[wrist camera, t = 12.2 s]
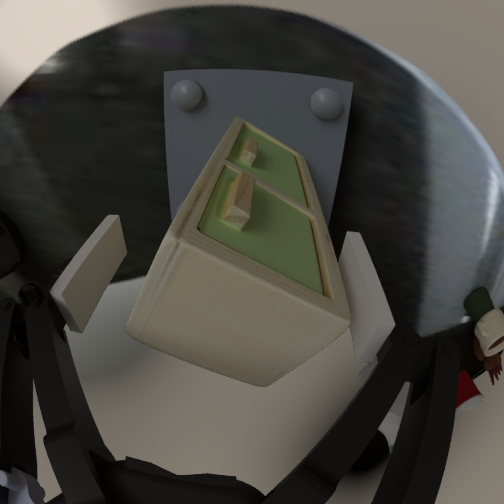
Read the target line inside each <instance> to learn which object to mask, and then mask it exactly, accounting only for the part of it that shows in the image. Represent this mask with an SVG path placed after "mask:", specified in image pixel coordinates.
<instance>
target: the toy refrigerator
mask: <svg viewBox="0 0 504 504" xmlns="http://www.w3.org/2000/svg"><path fill="white" fill-rule="evenodd" d="M350 324H351V316H350V310H349V306H348V302H347V297H346V293H345V289H344V286H343V282H342V278H341V274H340V270H339V266H338V263H337V259H336V256H335V252H334V248H333V245H332V241H331V238H330V235H329V232H328V228H327V225H326V222H325V219H324V216H323V212H322V209H321V205H320V202H319V199H318V196H317V193H316V190H315V186H314V184H313V181H312V177H311V174H310V171H309V169H308V166H307V163H306V160H305V157H304V156H303V155H302V154H300V153H299V152H297V151H296V150H294V149H292V148H291V147H289V146H288V145H286V144H284V143H283V142H281V141H280V140H278V139H276V138H275V137H273V136H272V135H270V134H268V133H266V132H265V131H263V130H261V129H260V128H258V127H256V126H255V125H253V124H251V123H249V122H248V121H246V120H244V119H242V118H240V117H236V118H235V119H234V121H233V123H232V124H231V126H230V127H229V129H228V130H227V132H226V134H225V135H224V137H223V138H222V140H221V141H220V143H219V145H218V146H217V148H216V149H215V151H214V152H213V154H212V156H211V157H210V159H209V160H208V162H207V164H206V165H205V167H204V169H203V170H202V172H201V174H200V175H199V177H198V179H197V180H196V182H195V184H194V185H193V187H192V189H191V191H190V192H189V194H188V196H187V197H186V199H185V201H184V203H183V204H182V206H181V208H180V210H179V211H178V213H177V215H176V217H175V218H174V220H173V222H172V224H171V226H170V228H169V229H168V231H167V233H166V235H165V237H164V239H163V241H162V244H161V246H160V248H159V250H158V252H157V254H156V256H155V259H154V261H153V263H152V265H151V268H150V270H149V272H148V274H147V277H146V279H145V281H144V284H143V286H142V288H141V291H140V293H139V296H138V298H137V301H136V303H135V306H134V308H133V311H132V313H131V316H130V318H129V321H128V323H127V325H126V328H125V332H126V333H127V334H128V335H129V336H131V337H132V338H134V339H136V340H138V341H139V342H141V343H143V344H145V345H148V346H150V347H152V348H154V349H156V350H159V351H161V352H164V353H166V354H168V355H171V356H173V357H176V358H178V359H181V360H183V361H186V362H189V363H191V364H194V365H197V366H199V367H202V368H204V369H207V370H210V371H212V372H215V373H218V374H221V375H224V376H227V377H230V378H233V379H236V380H239V381H242V382H245V383H248V384H251V385H255V386H259V387H266V386H269V385H271V384H272V383H274V382H275V381H277V380H278V379H280V378H281V377H283V376H284V375H286V374H287V373H289V372H290V371H292V370H293V369H295V368H296V367H298V366H299V365H301V364H302V363H304V362H305V361H306V360H308V359H309V358H310V357H312V356H313V355H315V354H316V353H318V352H319V351H320V350H322V349H323V348H325V347H326V346H327V345H329V344H330V343H331V342H333V341H334V340H335V339H337V338H338V337H339V336H340V335H341V334H343V333H344V332H345V331H346V330H347V328H349V326H350Z"/></svg>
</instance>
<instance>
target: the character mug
mask: <svg viewBox="0 0 504 504" xmlns="http://www.w3.org/2000/svg"><path fill="white" fill-rule="evenodd" d="M464 307H465V309H466V311H467V312H468V314H469V315H470V317H471V318H472V319H473V321H474V322H475V323H476V326H475V335H476V336H477V338H478V339H479V341H480V346H481V348H482V350H483V353H484V355H485V356H486V357H489V356H492V355H494V354H496V353H498V352H500V351H501V350H502V349H504V315H503V313H502V312H501V310H500V309H494V305H493V303H492V300H491V298H490V295H489V293H488V291H487V289H486V288H479V289H477V290H476V291H474V292H473V293H472V294H471V295H470V296H469V297H468V298H467V299H466V300H465V302H464Z"/></svg>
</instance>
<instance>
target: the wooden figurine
mask: <svg viewBox="0 0 504 504" xmlns="http://www.w3.org/2000/svg"><path fill="white" fill-rule="evenodd" d="M473 348H474V352H475V354H476V357H477V358H478V359H479V360H481V361H484V367H485V369H486V370H487V371H488V372H489V375H490V378H491V381H492V384H493V385H494V378H493V377H494V376H493V374H494V375H495V377H496V379H497V380H499V379H498V375H497V372H498V374H499V375H500V370H501V371H502V366H501V356H500V355H499V354H498V353H496V354H494V355H492V356H489V357H486V356H485V355H484V353H483V350H482V348H481V346H480V341H479V339H478V338H477V336H476V335H475V336H474V338H473Z"/></svg>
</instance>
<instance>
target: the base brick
mask: <svg viewBox="0 0 504 504" xmlns="http://www.w3.org/2000/svg"><path fill="white" fill-rule="evenodd" d="M352 90H353V83H352V82H347V81H343V80H338V79H332V78H326V77H320V76H313V75H305V74H297V73H288V72H278V71H265V70H247V69H193V70H176V71H166V72H164V114H165V139H166V157H167V172H168V185H169V196H170V207H171V217H172V222H173V220H174V218H175V217H176V215H177V213H178V211H179V210H180V208H181V206H182V204H183V203H184V201H185V199H186V197H187V196H188V194H189V192H190V191H191V189H192V187H193V185H194V184H195V182H196V180H197V179H198V177H199V175H200V174H201V172H202V170H203V169H204V167H205V165H206V164H207V162H208V160H209V159H210V157H211V156H212V154H213V152H214V151H215V149H216V148H217V146H218V145H219V143H220V141H221V140H222V138H223V137H224V135H225V134H226V132H227V130H228V129H229V127H230V126H231V124H232V123H233V121H234V119H235V118H236V117H240V118H242V119H244V120H246V121H248V122H249V123H251V124H253V125H255V126H256V127H258V128H260V129H261V130H263V131H265V132H266V133H268V134H270V135H272V136H273V137H275V138H276V139H278V140H280V141H281V142H283V143H284V144H286V145H288V146H289V147H291V148H292V149H294V150H296V151H297V152H299V153H300V154H302V155H303V156H304V157H305V160H306V163H307V166H308V169H309V171H310V174H311V177H312V181H313V184H314V186H315V190H316V193H317V196H318V199H319V202H320V205H321V209H322V212H323V216H324V219H325V222H326V225H327V228H328V225H329V220H330V216H331V211H332V207H333V202H334V197H335V192H336V187H337V182H338V177H339V171H340V166H341V161H342V155H343V149H344V143H345V137H346V131H347V125H348V118H349V112H350V105H351V98H352Z"/></svg>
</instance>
